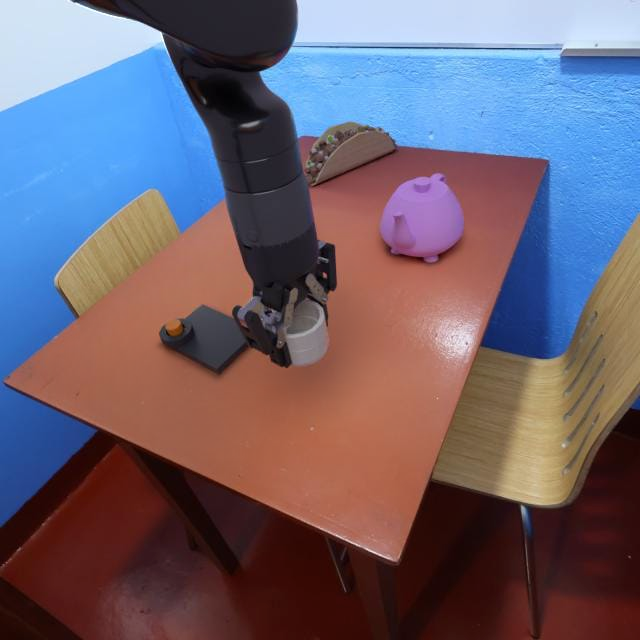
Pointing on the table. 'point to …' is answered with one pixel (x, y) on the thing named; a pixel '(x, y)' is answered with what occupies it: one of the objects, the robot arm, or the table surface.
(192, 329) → the dark grey flat slab
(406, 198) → the teapot
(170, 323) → the button
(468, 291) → the table surface
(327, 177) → the taco
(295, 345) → the white round cup
